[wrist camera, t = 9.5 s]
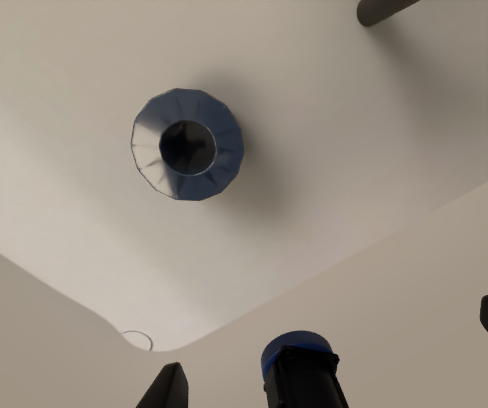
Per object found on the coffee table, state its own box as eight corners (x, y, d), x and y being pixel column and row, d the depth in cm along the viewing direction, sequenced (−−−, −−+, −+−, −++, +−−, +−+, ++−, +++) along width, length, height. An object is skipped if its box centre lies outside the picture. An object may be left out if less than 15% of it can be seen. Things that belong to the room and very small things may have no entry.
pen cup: (249, 107, 18) (257, 108, 13) (226, 186, 19) (226, 213, 15) (165, 80, 17) (141, 71, 12) (148, 165, 18) (123, 186, 14)
